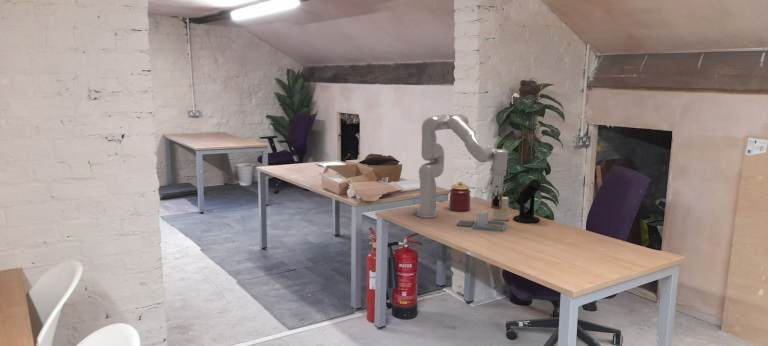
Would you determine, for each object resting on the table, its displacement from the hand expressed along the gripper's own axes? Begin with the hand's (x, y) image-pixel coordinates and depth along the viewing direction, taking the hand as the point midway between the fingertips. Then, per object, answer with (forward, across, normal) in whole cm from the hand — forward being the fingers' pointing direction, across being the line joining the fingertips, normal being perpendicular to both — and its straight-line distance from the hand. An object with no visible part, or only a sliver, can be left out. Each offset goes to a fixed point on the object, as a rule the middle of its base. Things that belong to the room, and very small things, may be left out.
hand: (496, 204), depth 303 cm
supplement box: (+13, -18, +1) cm, 22 cm away
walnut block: (+2, 0, 0) cm, 2 cm away
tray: (+13, 0, -3) cm, 13 cm away
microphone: (+13, -21, +15) cm, 29 cm away
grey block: (+13, 0, -7) cm, 15 cm away
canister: (+14, -34, -26) cm, 45 cm away
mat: (+13, 0, -16) cm, 21 cm away
